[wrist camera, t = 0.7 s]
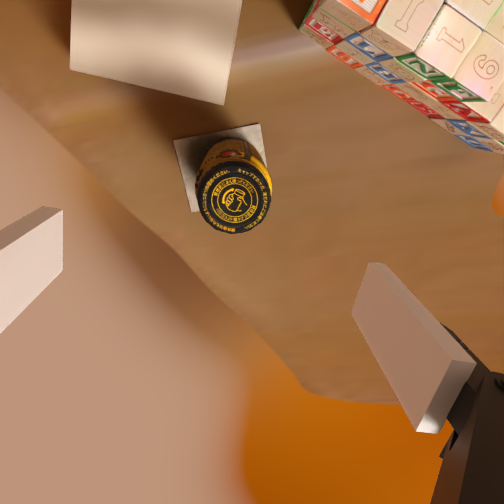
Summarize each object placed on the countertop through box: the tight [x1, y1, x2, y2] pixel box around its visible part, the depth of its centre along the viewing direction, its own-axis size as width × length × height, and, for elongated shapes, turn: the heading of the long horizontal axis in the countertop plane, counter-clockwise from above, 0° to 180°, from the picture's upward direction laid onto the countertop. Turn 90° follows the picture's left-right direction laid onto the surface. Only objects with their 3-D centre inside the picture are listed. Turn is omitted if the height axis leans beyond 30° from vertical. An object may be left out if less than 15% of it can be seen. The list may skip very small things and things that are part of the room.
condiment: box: [173, 124, 272, 234], centre depth 31 cm, size 7×8×12 cm
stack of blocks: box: [298, 0, 504, 154], centre depth 28 cm, size 21×6×12 cm, turn 61°
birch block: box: [70, 0, 242, 105], centre depth 29 cm, size 12×12×5 cm
